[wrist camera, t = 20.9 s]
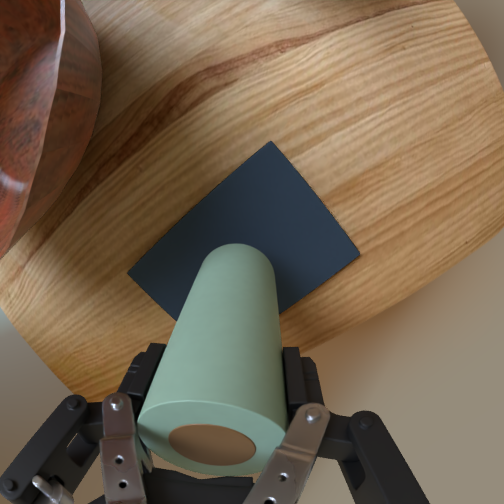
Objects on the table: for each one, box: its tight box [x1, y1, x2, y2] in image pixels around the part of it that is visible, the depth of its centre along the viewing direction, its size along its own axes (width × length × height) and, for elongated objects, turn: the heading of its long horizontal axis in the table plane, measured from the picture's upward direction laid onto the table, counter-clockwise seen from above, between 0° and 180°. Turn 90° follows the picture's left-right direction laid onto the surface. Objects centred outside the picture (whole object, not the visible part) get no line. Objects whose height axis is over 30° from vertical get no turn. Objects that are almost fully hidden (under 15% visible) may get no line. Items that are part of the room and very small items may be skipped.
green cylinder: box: [137, 244, 289, 476], centre depth 15 cm, size 14×6×14 cm
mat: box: [127, 141, 360, 321], centre depth 25 cm, size 12×17×1 cm
